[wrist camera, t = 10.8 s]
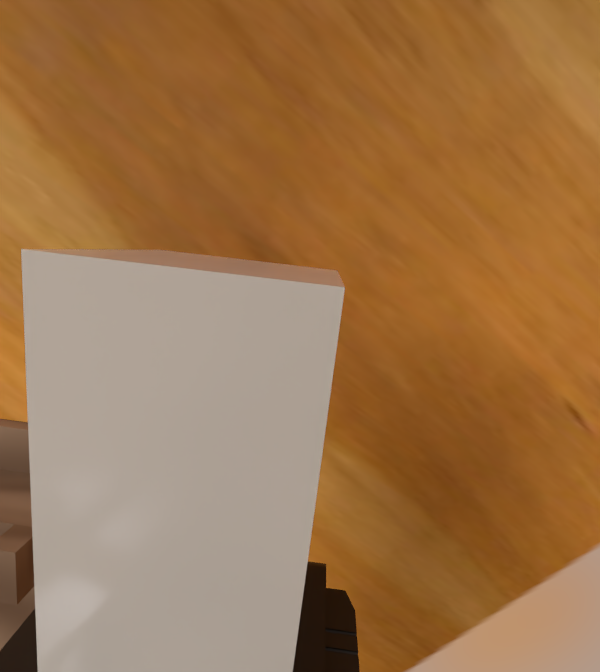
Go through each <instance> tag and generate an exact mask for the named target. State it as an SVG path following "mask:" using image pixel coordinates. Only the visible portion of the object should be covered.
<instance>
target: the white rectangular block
mask: <svg viewBox="0 0 600 672" xmlns="http://www.w3.org/2000/svg"><path fill="white" fill-rule="evenodd" d="M21 255H22V281H23V307H24V333H25V358H26V384H27V410H28V435H29V461H30V487H31V513H32V538H33V564H34V590H35V615H36V641H37V667H38V672H293V666H294V658H295V651H296V644H297V636H298V629H299V622H300V614H301V607H302V600H303V592H304V585H305V578H306V570H307V563H308V555H309V548H310V541H311V533H312V526H313V519H314V511H315V504H316V497H317V489H318V482H319V475H320V467H321V460H322V452H323V445H324V438H325V430H326V423H327V416H328V408H329V401H330V394H331V386H332V379H333V372H334V364H335V357H336V349H337V342H338V335H339V327H340V320H341V313H342V305H343V298H344V291H345V286H344V284H343V282H342V280H341V277H340V275H339V273H338V271H337V270H330V269H321V268H312V267H304V266H295V265H287V264H278V263H270V262H261V261H252V260H244V259H235V258H227V257H218V256H210V255H201V254H192V253H184V252H175V251H167V250H103V249H21Z"/></svg>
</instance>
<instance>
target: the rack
mask: <svg viewBox="0 0 600 672" xmlns="http://www.w3.org/2000/svg"><path fill="white" fill-rule="evenodd" d="M34 609H35V590H34V564H33V538H32V513H31V487H30V461H29V435H28V423H26V422H18V421H11V420H4V419H0V650H1V649H2V648H3V647H4V645H5V644H6V643H7V642H8V640H9V639H10V638H11V637H12V636H13V634H14V633H15V632H16V631H17V630H18V628H19V627H20V626H21V625H22V623H23V622H24V621H25V620H26V619H27V617H28V616H29V615H30V614H31V613H32V611H33V610H34Z"/></svg>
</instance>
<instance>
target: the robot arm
mask: <svg viewBox="0 0 600 672" xmlns="http://www.w3.org/2000/svg"><path fill="white" fill-rule="evenodd" d="M356 633H357V632H356V618H355V610H354V608H353V606H352V603H351V601H350V599H349V597H348V595H347V593H346V591H344V590H337V589H330V588H326V564H322V563H315V562H308V563H307V570H306V578H305V585H304V592H303V600H302V607H301V614H300V622H299V629H298V636H297V644H296V651H295V658H294V666H293V672H359V659H358V645H357V637H356ZM0 672H38V667H37V641H36V615H35V609H34V610H33V611H32V613H31V614H30V615H29V616H28V617H27V619H26V620H25V621H24V622H23V623H22V625H21V626H20V627H19V628H18V630H17V631H16V632H15V633H14V634H13V636H12V637H11V638H10V639H9V640H8V642H7V643H6V644H5V645H4V647H3V648H2V649H1V650H0Z"/></svg>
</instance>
